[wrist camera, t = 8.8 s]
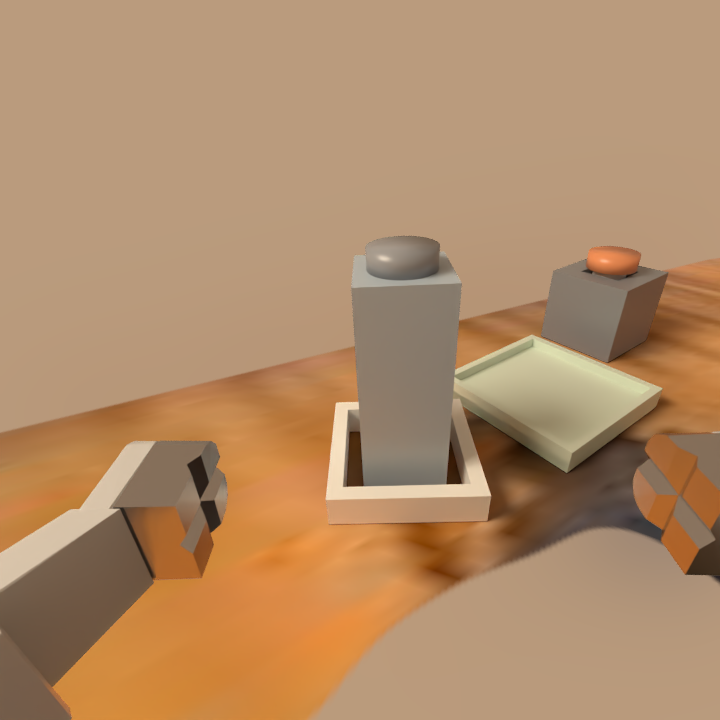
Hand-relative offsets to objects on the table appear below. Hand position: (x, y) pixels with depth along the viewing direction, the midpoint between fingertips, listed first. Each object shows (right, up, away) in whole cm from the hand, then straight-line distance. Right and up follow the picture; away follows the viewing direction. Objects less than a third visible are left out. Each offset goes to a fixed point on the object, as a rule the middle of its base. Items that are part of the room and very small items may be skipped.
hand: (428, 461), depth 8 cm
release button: (+19, +5, +28) cm, 34 cm away
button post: (+19, +4, +29) cm, 35 cm away
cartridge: (+1, -4, +17) cm, 17 cm away
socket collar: (+1, -4, +17) cm, 17 cm away
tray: (+12, -1, +22) cm, 25 cm away
